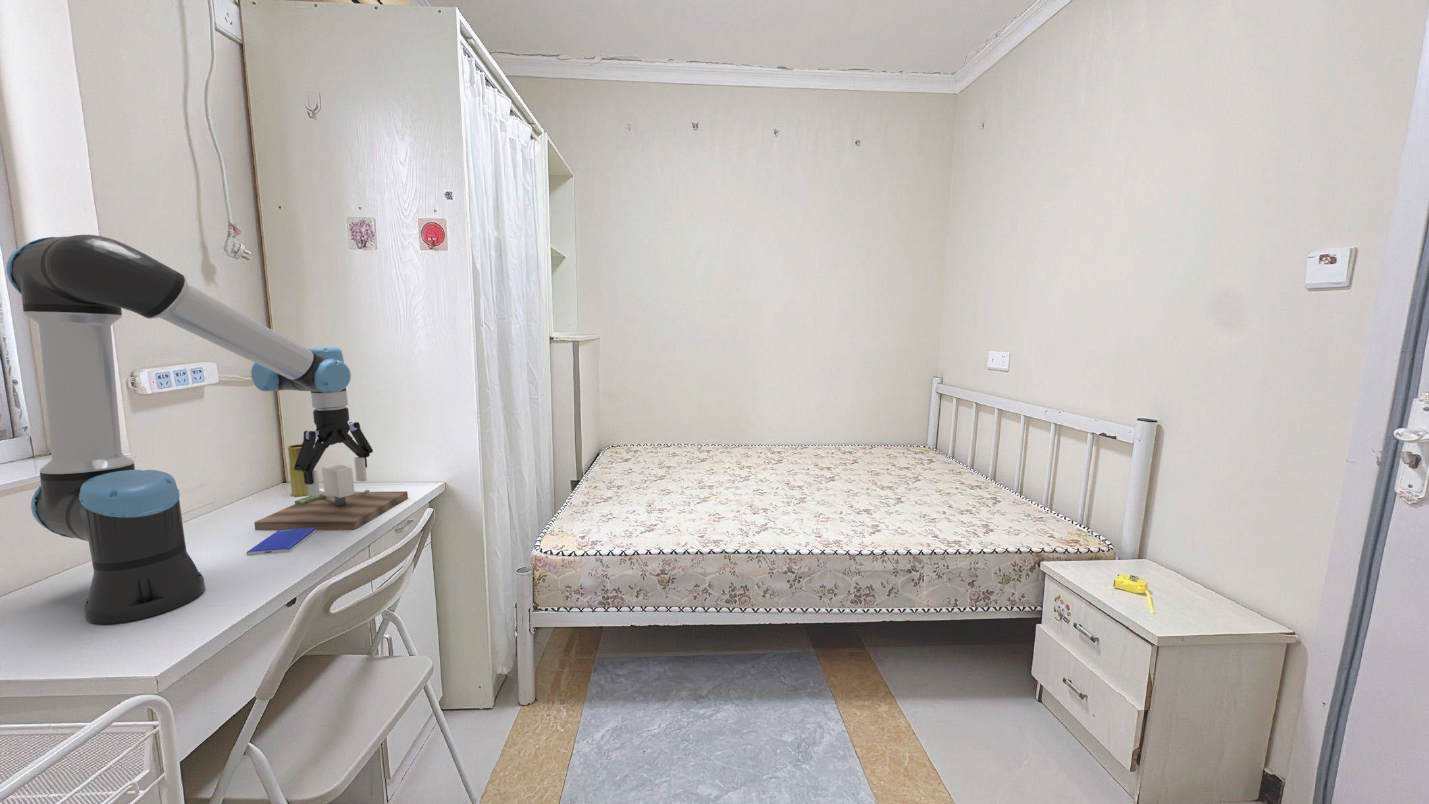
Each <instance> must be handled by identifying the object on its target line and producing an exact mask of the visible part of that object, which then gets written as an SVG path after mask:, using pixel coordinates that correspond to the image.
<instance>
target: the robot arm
mask: <svg viewBox="0 0 1429 804" xmlns="http://www.w3.org/2000/svg"><path fill="white" fill-rule="evenodd" d="M6 274H7V278H8V281H9V282H10V284H11V286H13V288H14V289H15V290H16V291H17V292H18V293H19V294H20V295H21V301H22V311H23V314H24V315H26V316H27V317H28V318H30V319H32V321H33V320H34V322H36V323H37V325H38V334H39V343H40V344H39V345H40V354H41V363H42V364H41V365H42V373H43V383H44V392H45V393H44V394H45V403H46V412H47V413H46V414H47V415H46V416H47V424H48V434H49V442H50V455H51V459H50V460H49V462H47V463H46V464H45V465H43V466H42V467H41V468H40V469H39V478H40V486H39V487H38V488H37V489H36V490H35V492H34V494H33V496H32V498H31V501H30V502H31V503H30V510H31V512H32V516H33V517H34V520H36V522H37V523H38V524H39V525H40V526H42V527H43V528H45V529H47V531H50V532H51V533H53V534H57V535H59V536H61V537H65V538H70V539H76V540H77V539H78V540H81V541H85V542H88V545H89V551H90V557H91V562H92V568H93V576H92V579H91V582H90V583H91V584H90V588H89V589H90V590H89V593H88V594H89V595H88V598H87V599H86V601H85V604H84V613H85V614H84V615H85V618H86V619H85V620H87V621H88V622H89V623H92V624H95V625H96V624H99V625H110V624H111V625H112V624H120V623H128V622H132V621H137V620H141V619H145V618H150V617H154V616H157V615H160V614H163V613H166V612H169V611H172V610H174V609H177V608H179V607H181V606H182V607H183V605H187V604H188V603H191V602H192V601H194V600H195V599H196V598H198V597H200V596H201V595H202V594H203V593H204V592H205V590H206V586H205V579H204V576H203V574H202V573H201V571H198V570H199V569H198V568H197V566H196V563H194V561H193V559H192V557H191V556H190V555H189V553H188V550H187V546H186V545H187V544H186V540H185V531H184V530H185V529H184V523H183V517H182V509H181V508H182V507H181V502H180V495H181V494H180V489H179V488H178V486H177V481H176V480H175V477H174V476H173V475H171V474H169V473H167V472H165V471H162V470H156V469H144V470H142V469H136V468H135V460H134V459H132V458H131V457H129V456H127V455H125V454H124V453H123V452H122V440H121V430H120V419H119V418H120V416H119V406H118V396H117V384H116V382H117V381H116V371H115V358H114V346H113V337H112V336H113V333H112V326H113V324H114V323H116V322H117V321H118V320H120V319H122V317H123V316H122V314H123V313H122V309H123V310H126V311H130V312H133V313H135V314H137V315H140V316H141V317H143V318H146V319H148V320H149V319H150V320H151V319H162V320H164V321H166V322H168V323H170V324H172V325H174V326H177V327H178V328H181V329H182V330H185V331H187V332H190V333H191V334H193V335H195V336H197V337H200V338H202V339H203V340H205V341H209V342H211V343H212V344H215V345H217V346H219V347H221V348H223V349H225V350H227V351H230V353H234V354H236V355H237V356H240V357H242V358H244V359H247V360H249V361H251V362H253V365H252V367H251V370H250V373H251V374H250V375H251V380H252V383H253V385H254V386H255V388H257V389H258V390H260V391H261V392H278V391H300V392H310V396H311V406H312V408H314V410H313V411H312V415H313V417H312V418H313V423H314V425H315V427H316V428H315V430H304V431H303V441H302V443H301V444H302V446H301V449H300V452H299V455H298V458H297V460H296V463H295V466H294V470H297V471H302V472H303V474H304V482H305V484H307V486H308V495H307V496H308V497H309V496H314V497H318V496H320V493H319V489H320V485H319V477H318V476H319V475H318V470H315V468H316V466H317V464H318V463H319V461H320V459H321V458H322V456H323V454H324V453H325V451H326V450H327V449H328V448H329V447H330V446H332V445H336V444H342V443H343V444H344V445H345V447H347V448H348V449H349V450H350V451H352V453H354V454H355V455H356V456H355V457H354V460H353V461H354V469H355V470H354V471H355V477H356V478H355V479H356V482H363V483H364V482H367V481H368V479H367V470H366V469H367V468H368V460H367V458H369V457H370V456H371V455H370V454H372V453H373V451H374V450H373V447H372V446H371V444H370V443H369V441H368V439H367V438H366V436H365V435H364V433H363V431H362V429H361V424H360V422H358V421H350V412H349V408H348V407H347V406H348V405H349V402H348V392H347V391H348V390H347V387H348V385H349V384H350V382H351V376H352V375H351V374H352V373H351V370H350V368H349V366H348V365H347V364H346V363H345V362H344V355H343V351H342V349H341V348H339V347H335V346H333V347H332V346H330V347H329V346H325V347H310V348H307V347H304V346H302V345H301V344H300V343H299V344H298V343H297V342H295V341H293V340H292V339H289V338H287V337H285V336H284V335H282V334H280V333H279V332H276V330H273V329H271V328H269V327H267V326H265V325H264V324H262V323H260V322H258V321H257V320H256V319H253V318H251V317H249V316H248V315H245V314H244V313H241V312H239V311H238V310H236V309H234V308H232V307H231V306H230V305H227V304H226V303H223V302H221V301H219V300H218V299H216V298H214V297H212V296H210V295H208V294H207V293H205V292H203V291H201V290H199V289H197V288H196V287H194V286H192V285H190V284H189V282H188V280H187V277H186V276H185V275H184V274H182V273H180V272H179V271H177V270H175V269H173V268H171V267H170V266H168V265H166V264H164V263H163V262H160V261H158V260H156V259H155V258H153V257H152V256H149V255H148V254H146V253H143V252H141V251H140V250H138V249H136V248H134V247H132V246H130V245H128V244H126V243H123V242H120V241H119V240H116V239H113V238H110V237H105V236H102V235H95V234H74V235H70V236H57V237H56V236H48V237H47V236H46V237H42V238H37V239H35V240H32V241H28V243H25V244H22V245H21V246H18V248H16V249H15V250H14V251H13V252H12V253H11V254H10V256H9V257H8V260H7V263H6ZM349 432H350V434H349ZM351 435H352V436H351Z"/></svg>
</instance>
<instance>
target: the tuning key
mask: <svg viewBox="0 0 1429 804" xmlns="http://www.w3.org/2000/svg"><path fill="white" fill-rule="evenodd" d="M321 472H322V473H321V475H322V480H323V481H322V483H323V488H322V487H321V488H320V487H319V493H320V494H322V495H325V496H328V497H330V498H333V499H335V506H342V505H345V504H346V497H345V496H349V495H353V494H355V492H356V491H355V486H354V483H355V482H354V474H353V473H354V472H353V467H349V466H346V465H342V464H339V463H334V464H329V465H326V466H321Z"/></svg>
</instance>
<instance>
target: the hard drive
mask: <svg viewBox="0 0 1429 804" xmlns="http://www.w3.org/2000/svg"><path fill="white" fill-rule="evenodd" d="M316 532H317V530H316V528H302V529H288V530H275V532H274V533H272V534H270V535H269V536H267V537H266V538H265V539H263V540H262V541H261V542H259V543H257V544H256V545H255V546H253V547H252V548H250V549H249V550H247V551H246V552H245V554H246V556H257V555H258V556H259V555H261V556H262V555H270V554H272V555H273V554H285V553H286V554H287V553H290V552H292V551H293V550H294V549H296V548H297V547H299V545H301V544H302V543H303V542H304V541H306V540H307V539H308V538H310V537H311V536H312V535H314V534H315V533H316Z"/></svg>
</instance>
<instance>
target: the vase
mask: <svg viewBox="0 0 1429 804" xmlns="http://www.w3.org/2000/svg"><path fill="white" fill-rule="evenodd" d="M301 446H302V443H299V444H298V443H296V444H291V445H289V446H287V451H288V457H289V459H288V460H289V476H290V478H289V479H290V488H291V493H290V495H291V496H292V497H306V496H309V495H308V486H307V484H305V482H304V474H303V472H302V471H297V470H294V466H295V463H296V460H297V458H298V455H299V452H300V449H301Z"/></svg>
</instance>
